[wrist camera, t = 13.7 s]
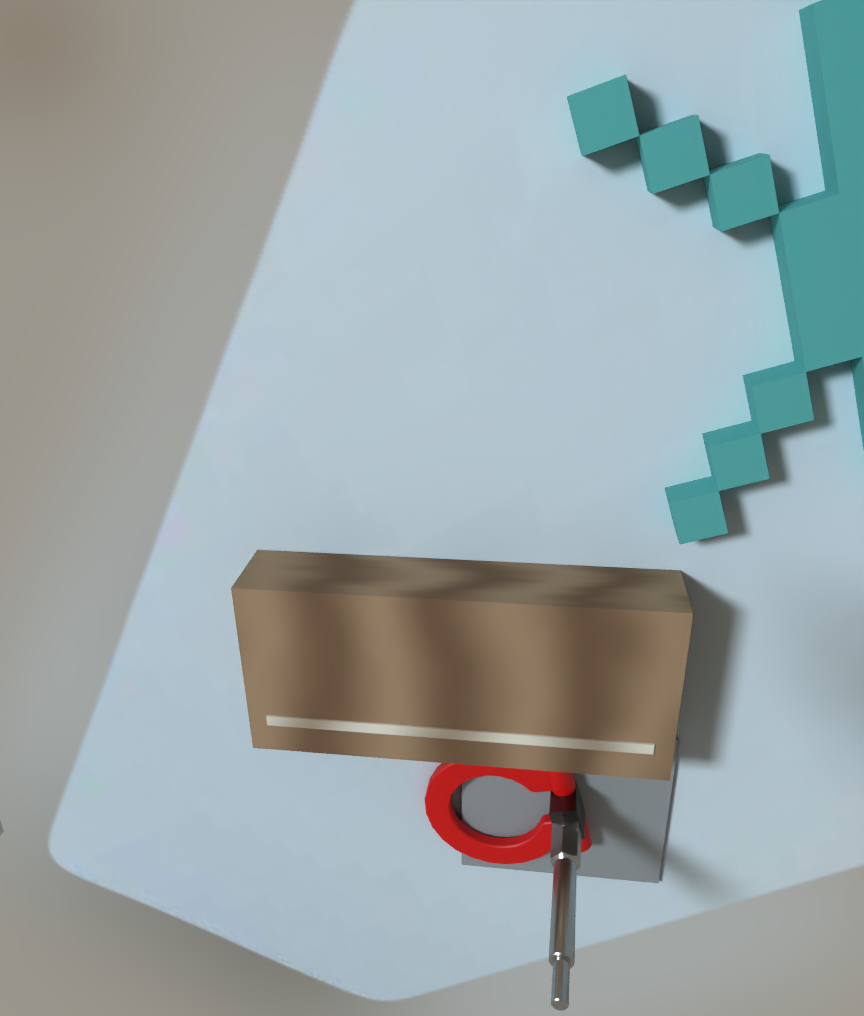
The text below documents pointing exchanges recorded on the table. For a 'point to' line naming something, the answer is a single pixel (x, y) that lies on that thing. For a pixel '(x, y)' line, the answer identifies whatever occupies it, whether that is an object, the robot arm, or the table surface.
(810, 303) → the alien figure
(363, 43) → the table surface
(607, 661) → the walnut board
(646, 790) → the mat
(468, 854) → the tow hook
